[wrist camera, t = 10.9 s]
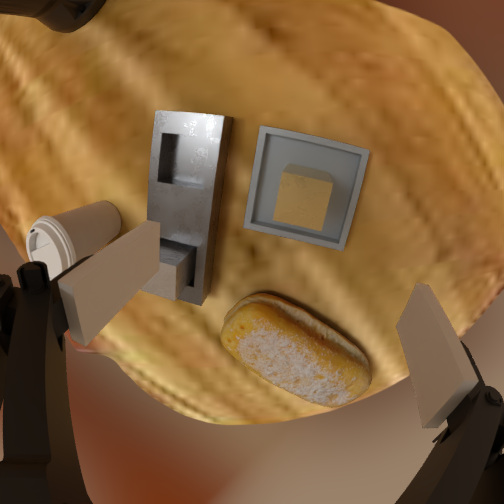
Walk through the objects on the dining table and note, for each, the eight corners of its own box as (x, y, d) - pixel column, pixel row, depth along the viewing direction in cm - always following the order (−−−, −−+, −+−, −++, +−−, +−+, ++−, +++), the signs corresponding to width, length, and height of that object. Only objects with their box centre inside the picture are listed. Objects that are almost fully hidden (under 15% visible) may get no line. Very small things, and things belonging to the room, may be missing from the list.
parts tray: (263, 125, 34) (260, 125, 32) (366, 149, 32) (369, 150, 30) (247, 222, 39) (243, 227, 37) (341, 244, 38) (343, 251, 36)
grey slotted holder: (170, 111, 35) (155, 110, 32) (233, 117, 34) (224, 115, 31) (158, 277, 46) (147, 289, 43) (210, 291, 45) (201, 305, 42)
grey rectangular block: (168, 234, 41) (140, 256, 34) (200, 241, 41) (176, 266, 34) (167, 264, 44) (141, 290, 36) (197, 272, 43) (175, 301, 36)
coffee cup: (127, 193, 41) (58, 225, 28) (131, 250, 45) (73, 296, 32) (84, 190, 43) (17, 218, 29) (89, 242, 47) (31, 280, 33)
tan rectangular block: (288, 163, 34) (282, 171, 27) (328, 172, 34) (333, 183, 27) (281, 201, 37) (272, 220, 29) (319, 210, 36) (321, 231, 29)
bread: (257, 270, 42) (245, 299, 35) (386, 353, 44) (393, 387, 37) (215, 326, 48) (199, 357, 41) (335, 393, 50) (334, 426, 42)
